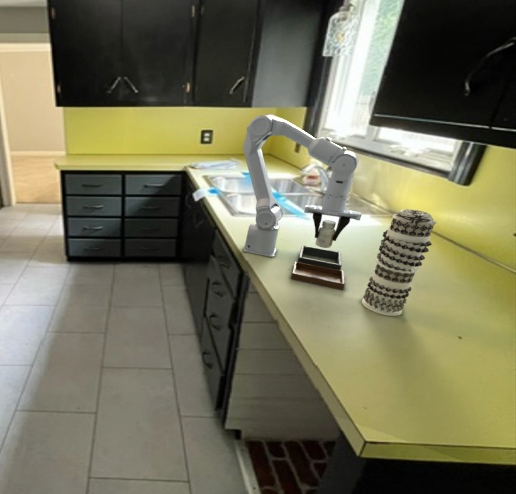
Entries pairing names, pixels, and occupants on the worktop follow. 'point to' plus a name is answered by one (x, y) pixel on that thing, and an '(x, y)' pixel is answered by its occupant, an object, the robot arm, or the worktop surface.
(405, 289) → the decorative candle
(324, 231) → the pill bottle
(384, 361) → the worktop surface
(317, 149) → the robot arm
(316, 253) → the dark grey square frame
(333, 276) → the tray
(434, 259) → the worktop surface
